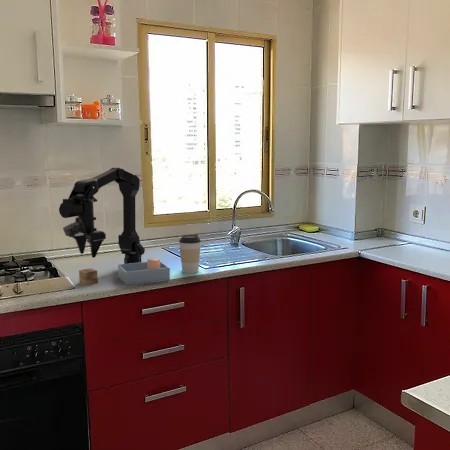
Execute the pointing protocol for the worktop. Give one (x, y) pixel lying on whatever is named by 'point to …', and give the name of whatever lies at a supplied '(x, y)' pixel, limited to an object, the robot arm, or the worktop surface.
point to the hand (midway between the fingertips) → (87, 255)
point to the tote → (142, 273)
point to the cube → (88, 276)
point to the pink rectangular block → (153, 263)
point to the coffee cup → (190, 253)
